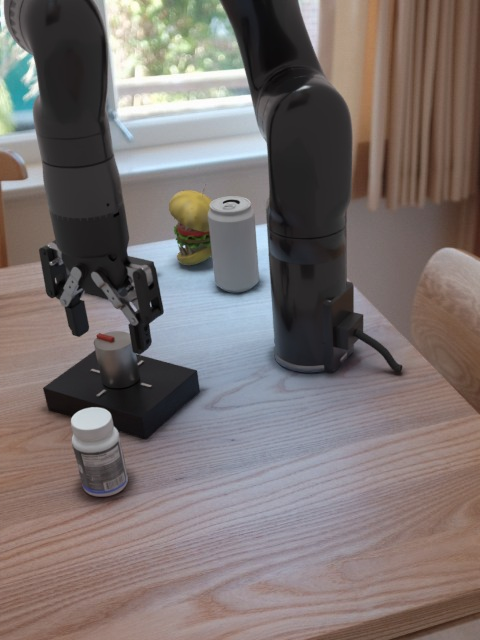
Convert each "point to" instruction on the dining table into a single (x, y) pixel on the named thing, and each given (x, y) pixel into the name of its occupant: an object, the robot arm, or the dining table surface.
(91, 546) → the dining table surface
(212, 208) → the beverage can
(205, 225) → the hamburger
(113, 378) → the knob
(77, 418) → the pill bottle
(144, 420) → the panel
